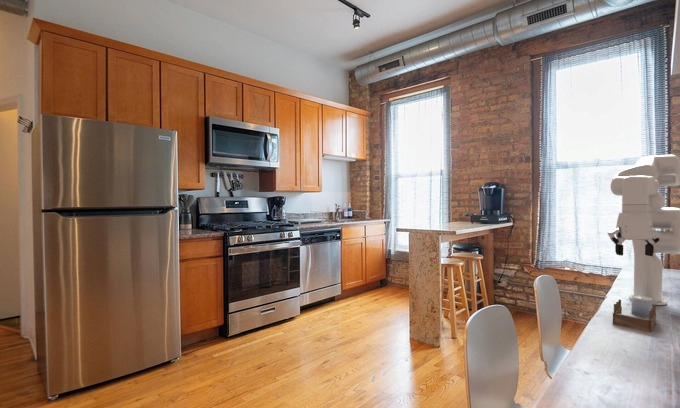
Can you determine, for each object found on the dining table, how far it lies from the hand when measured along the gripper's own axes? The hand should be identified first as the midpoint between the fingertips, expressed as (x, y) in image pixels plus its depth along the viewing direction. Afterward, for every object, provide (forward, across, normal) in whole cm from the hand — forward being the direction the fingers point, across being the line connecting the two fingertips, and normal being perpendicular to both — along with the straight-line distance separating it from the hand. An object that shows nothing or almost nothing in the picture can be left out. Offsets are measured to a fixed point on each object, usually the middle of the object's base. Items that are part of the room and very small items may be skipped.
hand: (634, 255), depth 131 cm
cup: (+25, -8, -9) cm, 28 cm away
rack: (+25, +1, +2) cm, 25 cm away
